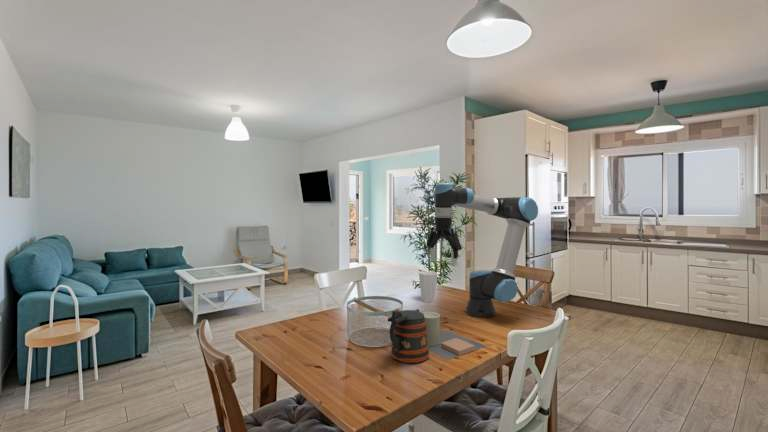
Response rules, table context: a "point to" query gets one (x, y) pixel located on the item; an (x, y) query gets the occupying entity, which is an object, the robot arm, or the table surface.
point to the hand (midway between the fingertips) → (443, 263)
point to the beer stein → (408, 336)
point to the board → (448, 336)
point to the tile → (458, 346)
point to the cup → (428, 285)
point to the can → (432, 327)
